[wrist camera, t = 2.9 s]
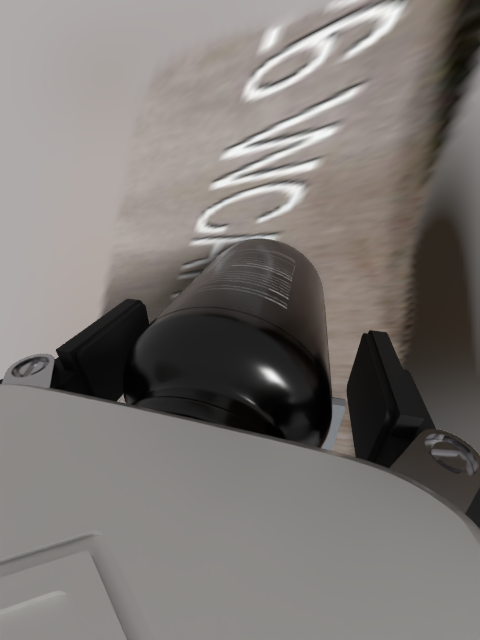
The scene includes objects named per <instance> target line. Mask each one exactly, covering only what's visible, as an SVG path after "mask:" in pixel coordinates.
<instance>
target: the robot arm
mask: <svg viewBox="0 0 480 640" xmlns="http://www.w3.org/2000/svg"><path fill="white" fill-rule="evenodd" d="M148 326H149V321H148V316H147V311H146V306H145V305H144V304H143V303H142V302H141V301H140V300H133V299H127V300H125V301H123V302H122V303H121V304H119V305H118V306H116V307H115V308H114V309H112V310H111V311H109V312H108V313H107V314H105V315H104V316H102V317H101V318H100V319H98V320H97V321H95V322H94V323H93V324H91V325H90V326H89V327H87V328H86V329H85V330H83V331H82V332H80V333H79V334H77V335H76V336H74V337H73V338H72V339H70V340H69V341H67V342H66V343H65V344H63V345H62V346H60V347H59V348H58V349H56V352H57V354H58V356H59V357H58V358H57V359H54V357H53V356H52V355H48V354H38V355H33V356H29V357H26V358H24V359H22V360H19V361H18V362H16V363H14V364H13V365H12V366H11V367H10V368H9V369H8V370H7V372H6V374H5V376H4V379H2V380H0V640H480V455H479V453H478V452H477V451H476V450H475V449H474V448H473V447H472V446H471V445H469V444H468V443H467V442H466V441H464V440H463V439H461V438H460V437H458V436H456V435H454V434H452V433H449V432H446V431H444V430H440V429H436V428H435V426H434V424H433V421H432V419H431V417H430V415H429V413H428V411H427V408H426V406H425V404H424V402H423V400H422V398H421V395H420V393H419V391H418V389H417V387H416V384H415V382H414V381H413V378H412V376H411V374H410V372H409V371H408V370H405V369H403V368H402V366H401V364H400V361H399V359H398V357H397V355H396V352H395V350H394V348H393V345H392V343H391V341H390V338H389V336H388V334H387V333H386V332H379V331H372V330H370V331H369V332H368V334H366V333H364V334H363V335H362V338H361V341H360V345H359V348H358V351H357V354H356V358H355V361H354V364H353V368H352V371H351V374H350V377H349V381H348V384H347V399H348V406H349V413H350V420H351V427H352V434H353V441H354V448H355V455H356V457H353V456H349V455H346V454H342V453H339V452H335V451H331V450H326V449H322V448H318V447H314V446H310V445H306V444H302V443H298V442H294V441H290V440H285V439H281V438H277V437H272V436H268V435H263V434H259V433H255V432H250V431H246V430H241V429H237V428H233V427H228V426H224V425H220V424H215V423H211V422H206V421H202V420H197V419H193V418H188V417H184V416H179V415H175V414H170V413H166V412H161V411H157V410H152V409H148V408H143V407H138V406H134V405H129V404H125V403H120V402H117V401H118V399H119V398H120V397H121V396H122V395H123V372H124V366H125V362H126V359H127V356H128V353H129V351H130V349H131V347H132V345H133V344H134V342H135V341H136V340H137V338H138V337H139V336H140V335H141V334H142V332H143V331H144V330H145V329H146V328H147V327H148Z"/></svg>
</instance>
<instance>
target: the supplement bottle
mask: <svg viewBox="0 0 480 640" xmlns="http://www.w3.org/2000/svg"><path fill="white" fill-rule="evenodd" d="M324 303H325V302H324V293H323V287H322V283H321V280H320V277H319V275H318V273H317V271H316V269H315V268H314V266H313V265H312V264H311V262H310V261H309V260H308V259H307V258H306V257H305V256H304V255H303V254H302V253H300V252H299V251H298V250H296V249H295V248H293V247H291V246H289V245H287V244H285V243H282V242H279V241H275V240H270V239H251V240H245V241H242V242H239V243H237V244H234V245H232V246H231V247H229V248H227V249H226V250H224V251H223V252H222V253H221V254H219V255H218V256H217V257H216V258H215V259H214V260H213V261H212V262H211V263H210V264H209V265H208V266H207V267H206V268H205V269H204V270H203V271H202V272H201V273H200V274H199V275H198V276H197V277H196V278H195V279H194V280H193V281H192V282H191V283H190V284H189V285H188V286H187V287H186V288H185V289H184V290H183V291H182V292H181V293H180V294H179V295H178V296H177V297H176V298H175V299H174V300H173V301H172V302H171V303H170V304H169V305H168V306H167V307H166V308H165V309H164V310H163V311H162V312H161V313H160V314H159V315H158V316H157V317H156V318H155V320H154V321H153V322H152V323H151V324H150V325H149V326H148V327H147V328H146V329H145V330H144V331H143V332H142V334H141V335H140V336H139V337H138V338H137V340H136V341H135V342H134V344H133V345H132V347H131V349H130V351H129V353H128V356H127V359H126V362H125V366H124V372H123V393H124V399H125V403H126V404H129V405H134V406H138V407H143V408H148V409H152V410H157V411H161V412H166V413H170V414H175V415H179V416H184V417H188V418H193V419H197V420H202V421H206V422H211V423H215V424H220V425H224V426H228V427H233V428H237V429H241V430H246V431H250V432H255V433H259V434H263V435H268V436H272V437H277V438H281V439H285V440H290V441H294V442H298V443H302V444H306V445H310V446H314V447H318V448H321V447H322V446H323V444H324V442H325V441H326V438H327V436H328V433H329V431H330V427H331V422H332V388H331V376H330V363H329V351H328V339H327V326H326V314H325V304H324Z"/></svg>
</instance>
